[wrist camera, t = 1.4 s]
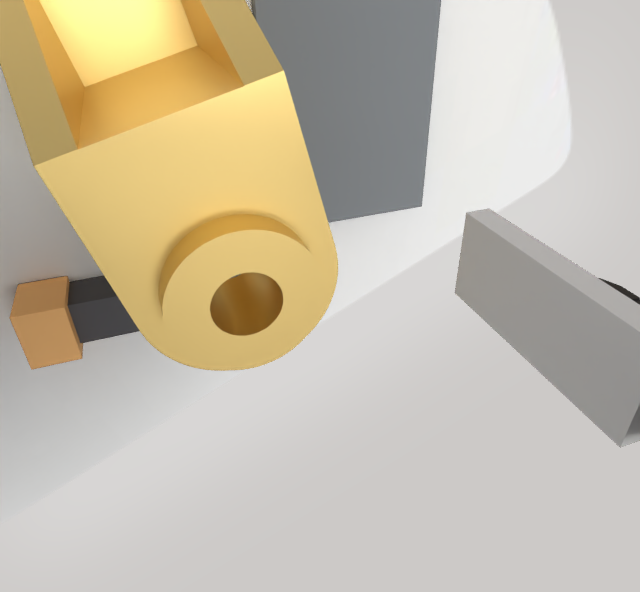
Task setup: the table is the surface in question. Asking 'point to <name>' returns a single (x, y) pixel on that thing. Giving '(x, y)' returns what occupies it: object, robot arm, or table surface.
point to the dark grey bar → (66, 318)
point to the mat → (359, 95)
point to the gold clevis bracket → (177, 168)
